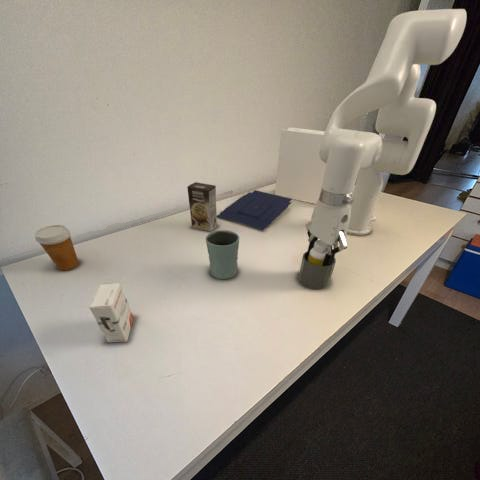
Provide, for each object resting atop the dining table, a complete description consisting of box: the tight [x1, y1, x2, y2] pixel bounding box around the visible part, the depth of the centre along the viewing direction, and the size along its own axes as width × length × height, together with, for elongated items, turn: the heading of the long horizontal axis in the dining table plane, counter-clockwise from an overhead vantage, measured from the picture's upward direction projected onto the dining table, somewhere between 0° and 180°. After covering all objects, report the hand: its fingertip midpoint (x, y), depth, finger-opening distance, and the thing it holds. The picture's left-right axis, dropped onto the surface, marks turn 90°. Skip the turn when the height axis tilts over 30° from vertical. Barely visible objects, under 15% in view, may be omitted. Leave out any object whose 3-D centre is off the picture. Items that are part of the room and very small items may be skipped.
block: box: [274, 126, 327, 205], centre depth 124 cm, size 35×8×28 cm, turn 57°
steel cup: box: [298, 250, 337, 290], centre depth 81 cm, size 10×10×8 cm
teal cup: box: [205, 229, 240, 280], centre depth 82 cm, size 10×10×12 cm
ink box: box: [89, 282, 134, 343], centre depth 63 cm, size 9×5×12 cm, turn 5°
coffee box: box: [187, 181, 218, 233], centre depth 104 cm, size 9×6×16 cm
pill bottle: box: [308, 239, 328, 266], centre depth 78 cm, size 6×6×11 cm
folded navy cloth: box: [217, 189, 293, 232], centre depth 119 cm, size 24×30×4 cm
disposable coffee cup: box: [34, 224, 80, 271], centre depth 83 cm, size 10×10×12 cm
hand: (319, 258), depth 78 cm, fingers closed on pill bottle, 6 cm apart
